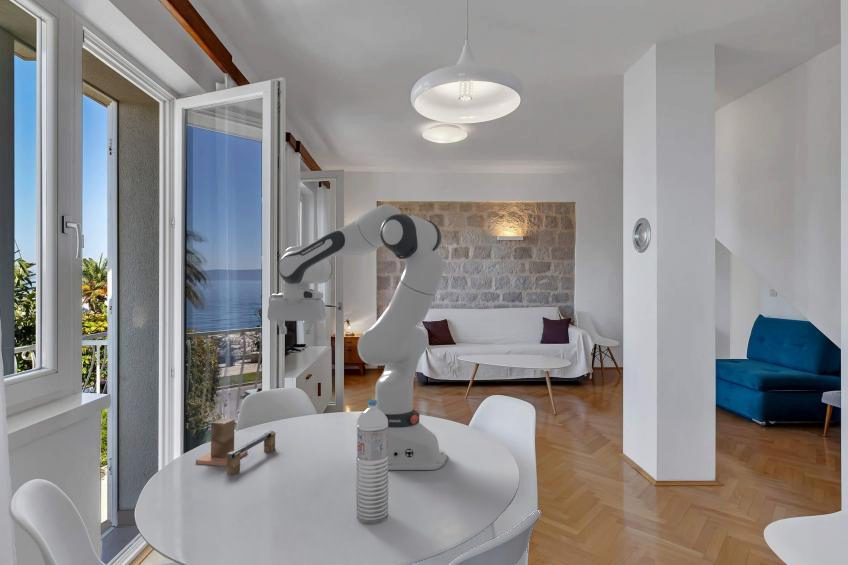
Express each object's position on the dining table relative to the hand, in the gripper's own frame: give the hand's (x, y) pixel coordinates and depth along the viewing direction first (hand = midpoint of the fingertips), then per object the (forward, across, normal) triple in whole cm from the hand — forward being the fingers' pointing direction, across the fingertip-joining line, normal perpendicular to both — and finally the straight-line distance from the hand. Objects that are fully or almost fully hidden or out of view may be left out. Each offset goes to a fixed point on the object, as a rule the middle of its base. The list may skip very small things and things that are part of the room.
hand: (296, 334), depth 152 cm
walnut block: (+34, -12, -22) cm, 42 cm away
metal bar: (+31, -2, -22) cm, 38 cm away
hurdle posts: (+35, -2, -22) cm, 41 cm away
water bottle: (+35, +43, -47) cm, 73 cm away
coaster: (+35, -12, -22) cm, 43 cm away
